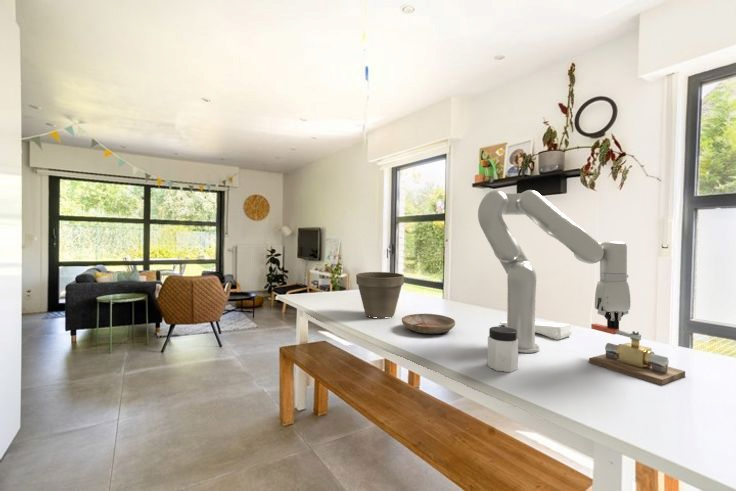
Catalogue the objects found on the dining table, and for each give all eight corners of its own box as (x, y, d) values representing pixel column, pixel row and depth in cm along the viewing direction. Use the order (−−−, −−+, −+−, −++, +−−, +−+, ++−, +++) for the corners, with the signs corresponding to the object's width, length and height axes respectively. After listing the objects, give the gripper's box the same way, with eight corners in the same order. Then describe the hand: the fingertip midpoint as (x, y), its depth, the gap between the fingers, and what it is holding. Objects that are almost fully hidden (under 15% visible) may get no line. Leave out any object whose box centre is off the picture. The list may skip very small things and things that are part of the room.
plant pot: (401, 322, 171) (402, 277, 170) (351, 320, 175) (351, 276, 174) (405, 312, 195) (405, 272, 195) (361, 310, 199) (361, 271, 199)
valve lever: (643, 340, 111) (643, 332, 111) (637, 340, 110) (637, 333, 110) (596, 328, 125) (596, 321, 125) (590, 328, 124) (591, 322, 124)
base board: (661, 385, 100) (661, 379, 100) (589, 362, 117) (589, 358, 117) (685, 376, 106) (685, 371, 106) (612, 356, 124) (613, 351, 124)
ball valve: (661, 374, 104) (661, 347, 103) (603, 357, 118) (603, 334, 117) (669, 371, 106) (670, 345, 106) (612, 355, 120) (612, 332, 120)
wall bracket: (501, 338, 166) (562, 345, 143) (497, 323, 165) (558, 328, 142) (513, 330, 171) (574, 335, 148) (509, 315, 171) (569, 319, 148)
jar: (487, 370, 110) (488, 331, 110) (487, 361, 118) (487, 325, 118) (519, 373, 107) (519, 334, 107) (516, 364, 115) (517, 327, 115)
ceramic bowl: (391, 332, 154) (391, 320, 154) (416, 321, 174) (416, 311, 174) (442, 341, 141) (442, 328, 141) (463, 328, 160) (463, 317, 160)
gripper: (623, 276, 126) (623, 328, 126) (585, 277, 124) (584, 330, 124) (642, 278, 119) (642, 333, 119) (602, 279, 116) (601, 335, 117)
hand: (612, 331), depth 122 cm, fingers closed
